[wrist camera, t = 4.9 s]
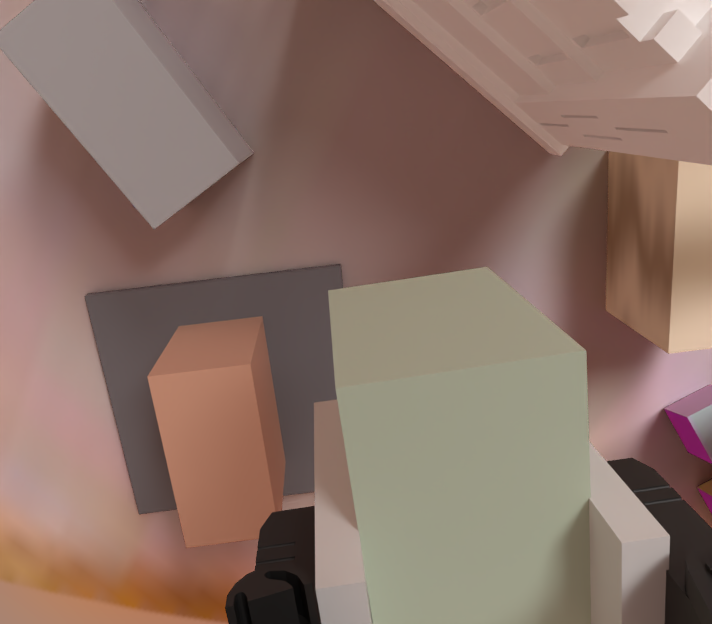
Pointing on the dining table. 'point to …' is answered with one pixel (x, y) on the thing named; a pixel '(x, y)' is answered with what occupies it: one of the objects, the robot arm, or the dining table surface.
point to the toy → (695, 429)
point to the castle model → (582, 68)
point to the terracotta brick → (220, 429)
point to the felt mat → (204, 305)
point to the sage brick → (464, 451)
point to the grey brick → (126, 99)
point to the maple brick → (660, 249)
